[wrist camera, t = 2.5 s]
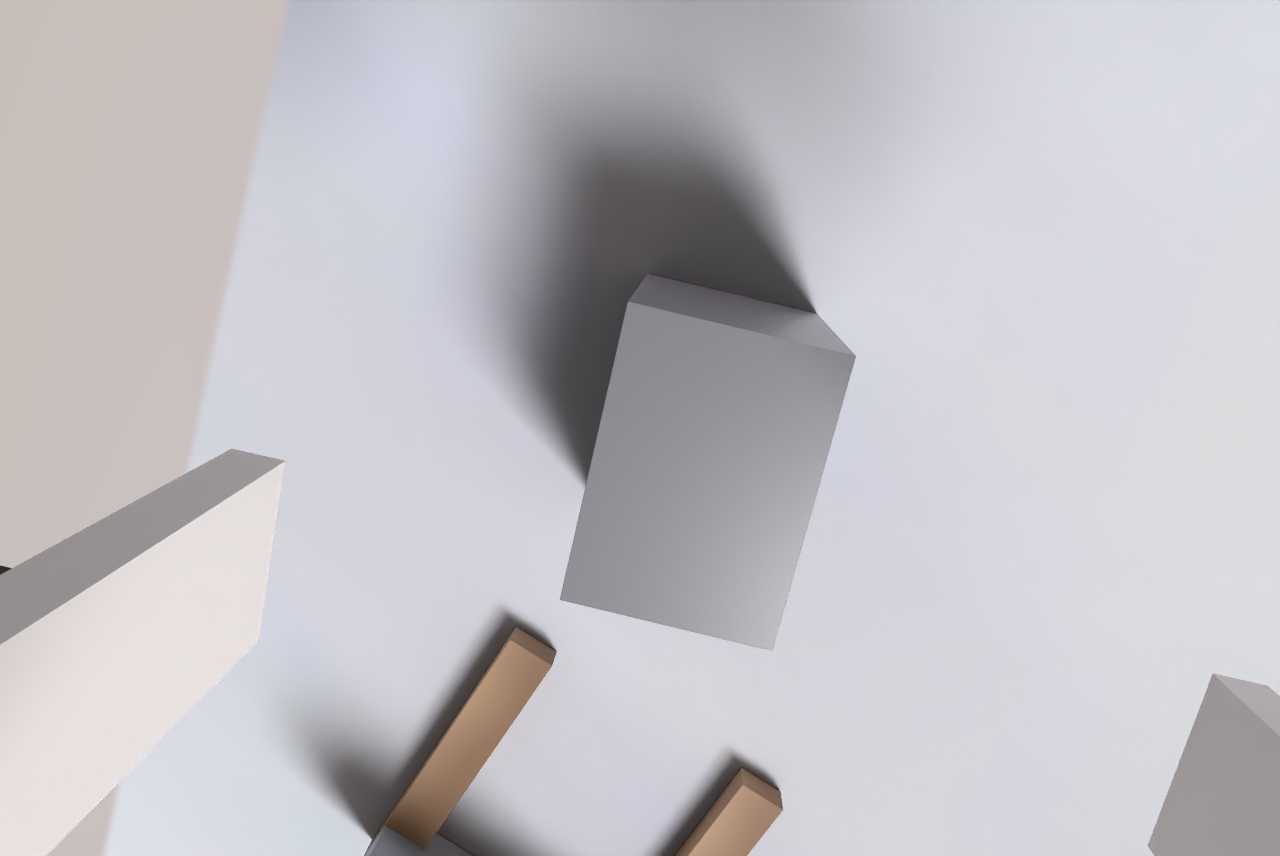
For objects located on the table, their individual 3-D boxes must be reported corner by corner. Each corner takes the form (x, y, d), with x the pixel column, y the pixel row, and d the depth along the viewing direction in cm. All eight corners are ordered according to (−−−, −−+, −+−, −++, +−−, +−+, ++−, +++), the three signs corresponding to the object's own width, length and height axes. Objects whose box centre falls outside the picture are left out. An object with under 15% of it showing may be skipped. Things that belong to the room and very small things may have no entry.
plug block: (595, 499, 32) (560, 600, 24) (647, 273, 30) (627, 301, 22) (755, 538, 32) (772, 650, 24) (816, 313, 30) (856, 355, 22)
